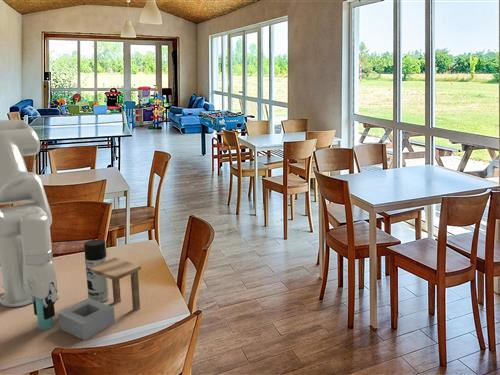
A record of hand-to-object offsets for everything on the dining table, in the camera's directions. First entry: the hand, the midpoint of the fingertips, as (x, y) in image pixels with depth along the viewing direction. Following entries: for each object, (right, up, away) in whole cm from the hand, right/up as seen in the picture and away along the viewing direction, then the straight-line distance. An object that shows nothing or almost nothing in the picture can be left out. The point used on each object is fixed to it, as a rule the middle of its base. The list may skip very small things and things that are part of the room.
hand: (44, 314), depth 132 cm
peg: (0, -4, +1) cm, 4 cm away
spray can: (+10, 0, +18) cm, 20 cm away
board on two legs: (+19, -1, +11) cm, 21 cm away
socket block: (+12, -4, +1) cm, 13 cm away
